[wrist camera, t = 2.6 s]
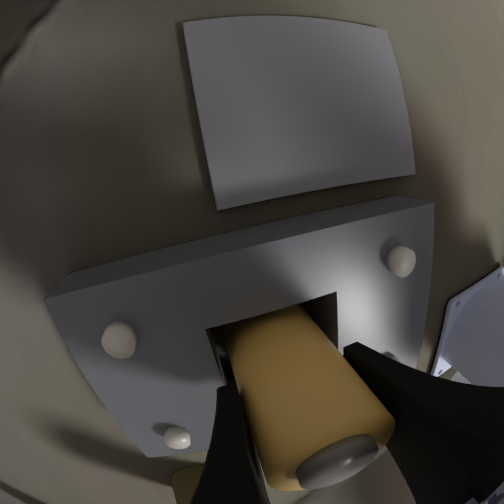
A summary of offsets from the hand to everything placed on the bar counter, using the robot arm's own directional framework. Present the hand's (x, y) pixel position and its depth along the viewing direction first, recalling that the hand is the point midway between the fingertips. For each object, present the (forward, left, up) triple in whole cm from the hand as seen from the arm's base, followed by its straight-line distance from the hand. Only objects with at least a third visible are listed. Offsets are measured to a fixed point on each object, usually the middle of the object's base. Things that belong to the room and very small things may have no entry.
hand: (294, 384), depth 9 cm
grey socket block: (0, 0, -4) cm, 4 cm away
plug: (0, 0, -4) cm, 4 cm away
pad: (-4, -10, -4) cm, 11 cm away
